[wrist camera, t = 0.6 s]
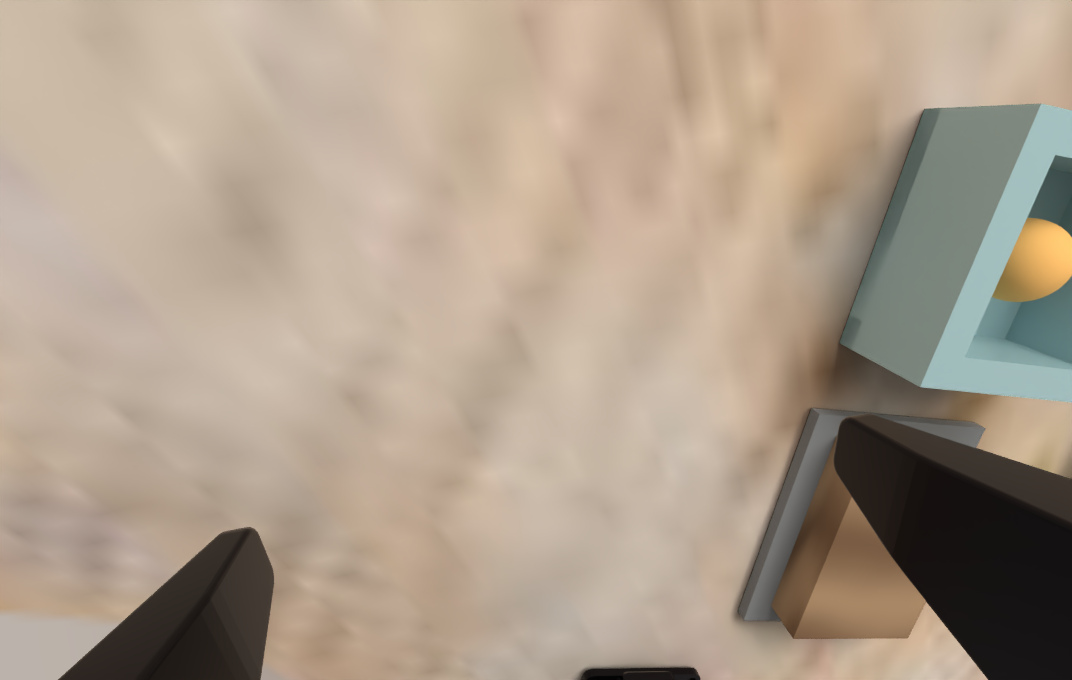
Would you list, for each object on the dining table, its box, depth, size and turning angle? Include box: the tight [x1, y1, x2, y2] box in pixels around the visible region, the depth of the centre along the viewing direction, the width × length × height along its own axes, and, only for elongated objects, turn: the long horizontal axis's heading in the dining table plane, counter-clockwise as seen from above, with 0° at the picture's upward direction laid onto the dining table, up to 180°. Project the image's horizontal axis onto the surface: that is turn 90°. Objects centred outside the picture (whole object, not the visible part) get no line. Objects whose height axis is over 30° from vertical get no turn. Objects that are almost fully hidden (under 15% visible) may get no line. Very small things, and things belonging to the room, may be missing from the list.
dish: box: [839, 104, 1072, 402], centre depth 21 cm, size 10×9×4 cm
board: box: [771, 436, 926, 639], centre depth 27 cm, size 10×6×2 cm, turn 171°
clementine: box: [992, 218, 1072, 302], centre depth 21 cm, size 3×3×3 cm
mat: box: [738, 408, 985, 621], centre depth 28 cm, size 12×9×1 cm
